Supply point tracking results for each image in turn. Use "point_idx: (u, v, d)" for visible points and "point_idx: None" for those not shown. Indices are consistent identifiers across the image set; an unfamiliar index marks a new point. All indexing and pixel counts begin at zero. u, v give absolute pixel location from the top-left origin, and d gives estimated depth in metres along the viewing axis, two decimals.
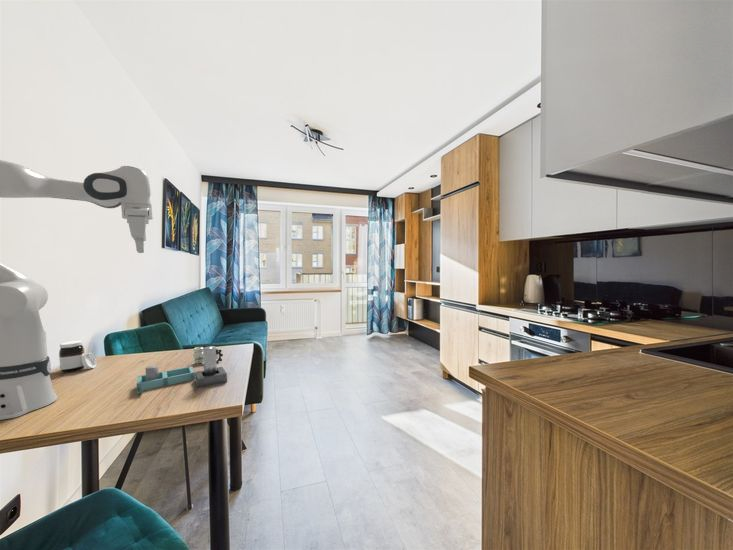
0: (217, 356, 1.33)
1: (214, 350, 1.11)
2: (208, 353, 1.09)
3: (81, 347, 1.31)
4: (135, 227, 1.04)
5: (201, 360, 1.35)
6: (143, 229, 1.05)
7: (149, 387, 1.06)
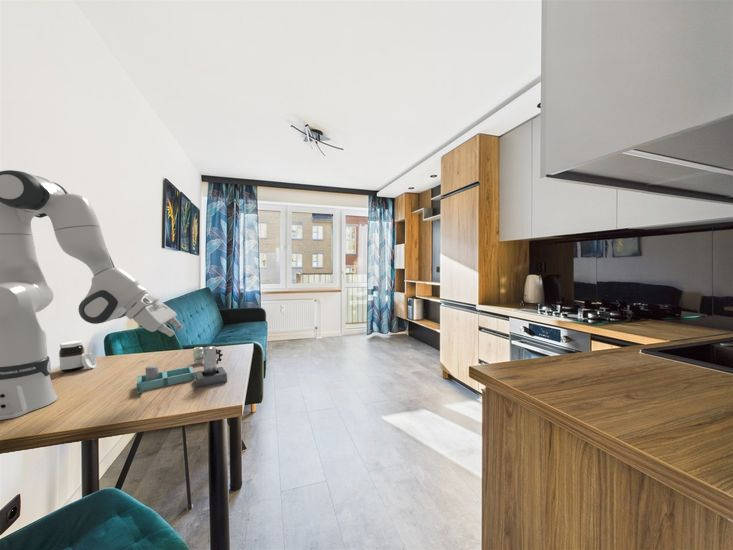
0: (217, 356, 1.33)
1: (214, 350, 1.11)
2: (208, 353, 1.09)
3: (81, 347, 1.31)
4: (146, 322, 0.98)
5: (201, 360, 1.35)
6: (153, 319, 0.98)
7: (149, 387, 1.06)
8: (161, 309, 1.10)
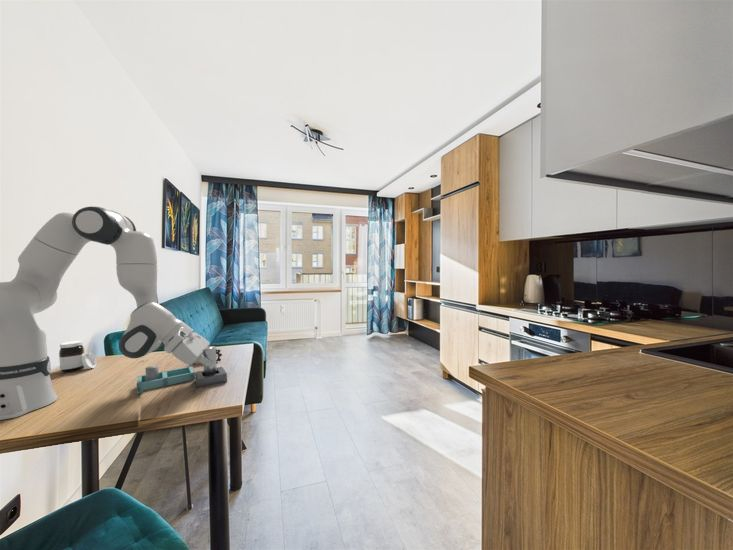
0: (216, 356, 1.33)
1: (214, 350, 1.11)
2: (208, 353, 1.09)
3: (81, 347, 1.31)
4: (184, 356, 1.00)
5: None
6: (191, 352, 1.00)
7: (149, 387, 1.06)
8: (196, 340, 1.12)
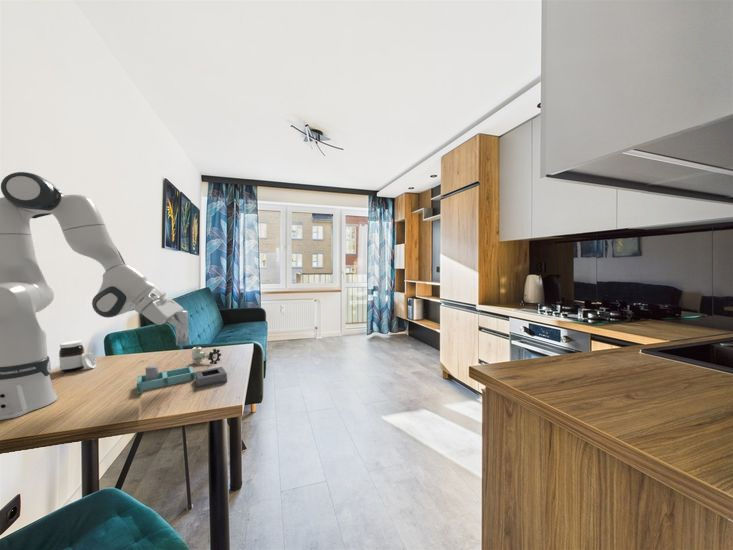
0: (215, 356, 1.33)
1: (186, 314, 1.13)
2: (180, 316, 1.11)
3: (81, 347, 1.31)
4: (153, 316, 1.02)
5: (199, 360, 1.35)
6: (160, 313, 1.03)
7: (149, 387, 1.06)
8: (168, 304, 1.15)
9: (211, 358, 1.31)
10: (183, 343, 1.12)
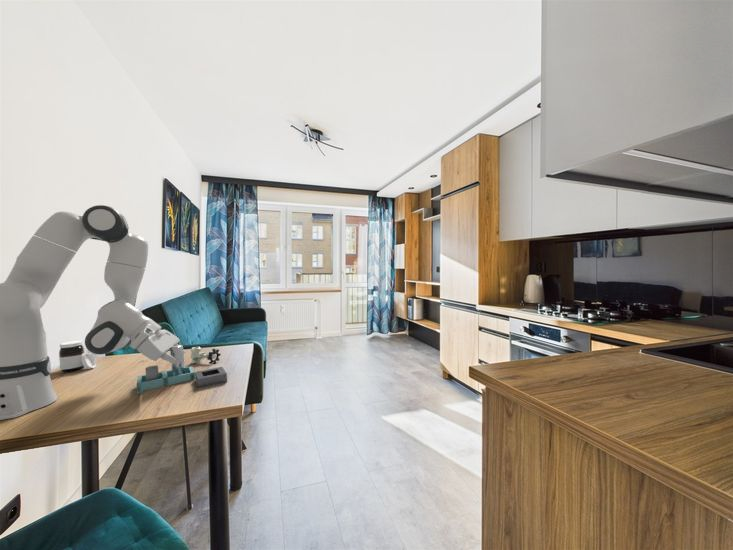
0: (214, 356, 1.33)
1: (181, 349, 1.14)
2: (175, 352, 1.12)
3: (81, 347, 1.31)
4: (149, 352, 1.03)
5: (198, 360, 1.36)
6: (156, 348, 1.03)
7: (149, 387, 1.06)
8: (164, 336, 1.15)
9: (210, 358, 1.31)
10: None
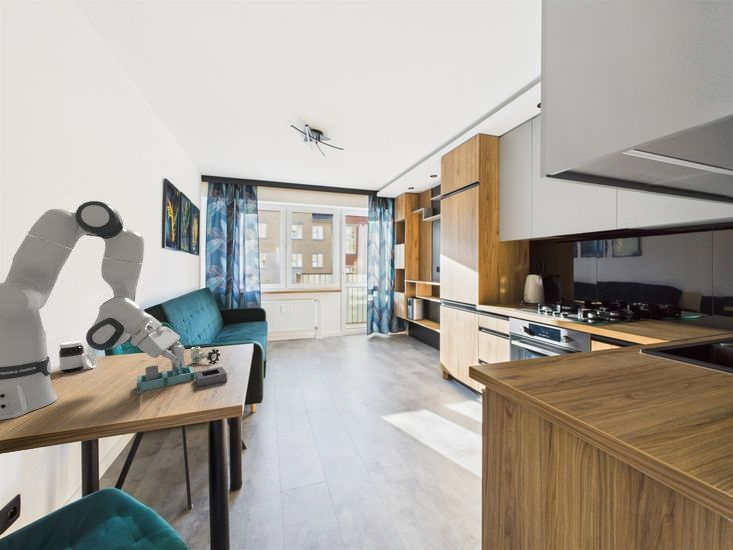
0: (214, 356, 1.33)
1: (182, 349, 1.14)
2: (176, 352, 1.12)
3: (81, 347, 1.31)
4: (149, 349, 1.03)
5: (198, 360, 1.36)
6: (156, 346, 1.04)
7: (149, 387, 1.06)
8: (165, 334, 1.16)
9: (210, 358, 1.31)
10: None
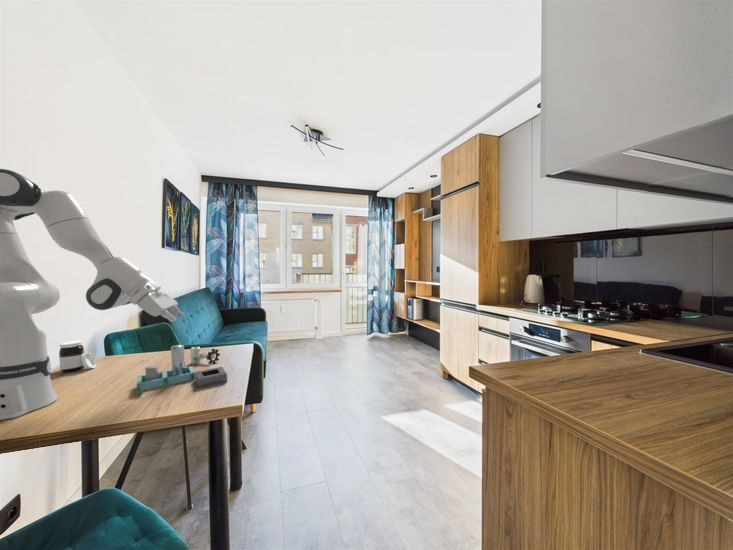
0: (214, 356, 1.34)
1: (182, 348, 1.14)
2: (176, 352, 1.12)
3: (81, 347, 1.31)
4: (149, 307, 1.03)
5: (198, 360, 1.36)
6: (156, 304, 1.03)
7: (149, 387, 1.06)
8: (163, 297, 1.15)
9: (210, 358, 1.31)
10: None
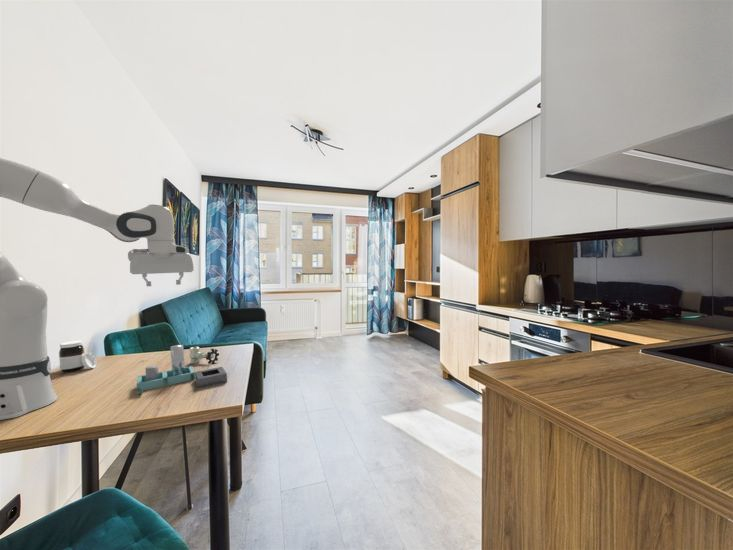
0: (213, 356, 1.34)
1: (181, 348, 1.14)
2: (175, 351, 1.12)
3: (81, 347, 1.31)
4: None
5: (197, 360, 1.36)
6: None
7: (149, 387, 1.06)
8: None
9: (209, 358, 1.31)
10: None
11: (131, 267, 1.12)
